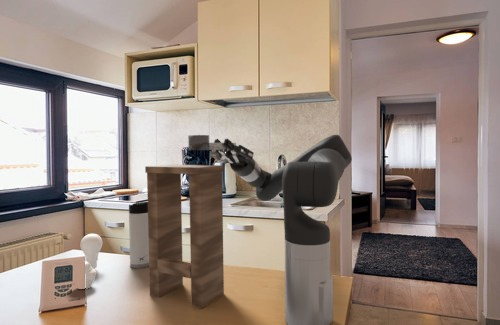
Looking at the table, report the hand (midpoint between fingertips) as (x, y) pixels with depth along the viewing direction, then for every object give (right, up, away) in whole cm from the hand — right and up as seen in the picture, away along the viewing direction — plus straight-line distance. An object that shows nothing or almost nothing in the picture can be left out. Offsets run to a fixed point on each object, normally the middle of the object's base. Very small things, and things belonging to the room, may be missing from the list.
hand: (220, 141), depth 105 cm
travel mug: (-25, -39, +4) cm, 46 cm away
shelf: (-7, -39, -18) cm, 44 cm away
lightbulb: (-39, -39, 0) cm, 55 cm away
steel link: (-2, -3, -3) cm, 4 cm away
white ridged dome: (-35, -40, -13) cm, 54 cm away
